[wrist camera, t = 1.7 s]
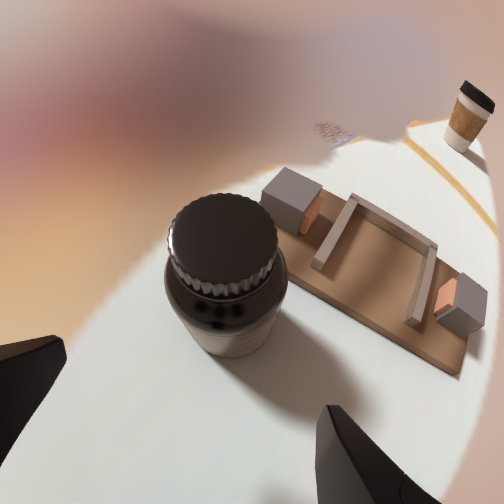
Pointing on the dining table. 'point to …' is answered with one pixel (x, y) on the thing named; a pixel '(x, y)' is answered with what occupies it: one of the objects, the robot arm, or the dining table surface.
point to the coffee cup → (468, 117)
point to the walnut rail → (374, 269)
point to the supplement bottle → (225, 273)
